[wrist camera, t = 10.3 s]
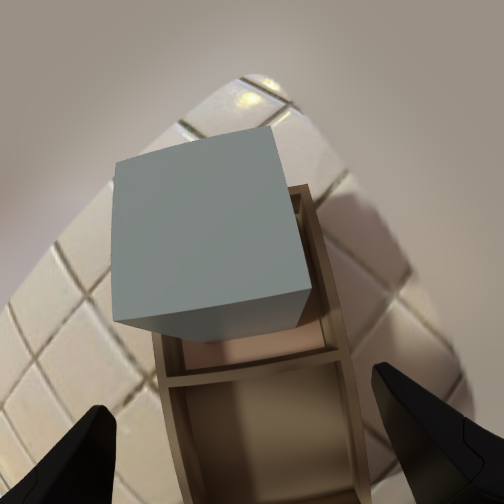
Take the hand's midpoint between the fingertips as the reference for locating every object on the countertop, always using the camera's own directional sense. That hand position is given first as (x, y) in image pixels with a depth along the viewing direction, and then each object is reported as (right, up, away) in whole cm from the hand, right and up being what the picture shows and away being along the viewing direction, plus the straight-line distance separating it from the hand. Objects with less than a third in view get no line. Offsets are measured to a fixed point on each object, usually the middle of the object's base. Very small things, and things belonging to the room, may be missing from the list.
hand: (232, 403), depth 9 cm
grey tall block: (0, +2, +9) cm, 9 cm away
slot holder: (+1, -2, +8) cm, 8 cm away
